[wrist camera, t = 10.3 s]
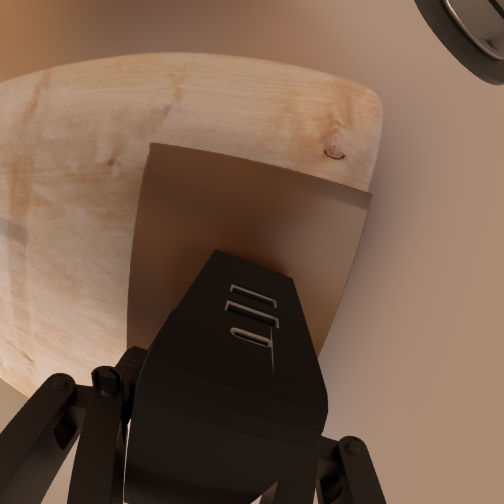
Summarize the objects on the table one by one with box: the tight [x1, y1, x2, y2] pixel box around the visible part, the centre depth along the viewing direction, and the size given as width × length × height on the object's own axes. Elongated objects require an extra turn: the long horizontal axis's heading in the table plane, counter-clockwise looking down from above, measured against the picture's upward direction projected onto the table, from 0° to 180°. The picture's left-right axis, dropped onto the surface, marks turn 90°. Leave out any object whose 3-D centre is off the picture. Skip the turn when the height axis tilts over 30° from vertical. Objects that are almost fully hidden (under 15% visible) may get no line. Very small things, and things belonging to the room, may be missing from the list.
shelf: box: [127, 143, 372, 359], centre depth 21 cm, size 20×12×12 cm, turn 167°
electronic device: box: [124, 249, 328, 504], centre depth 11 cm, size 4×10×10 cm, turn 159°
